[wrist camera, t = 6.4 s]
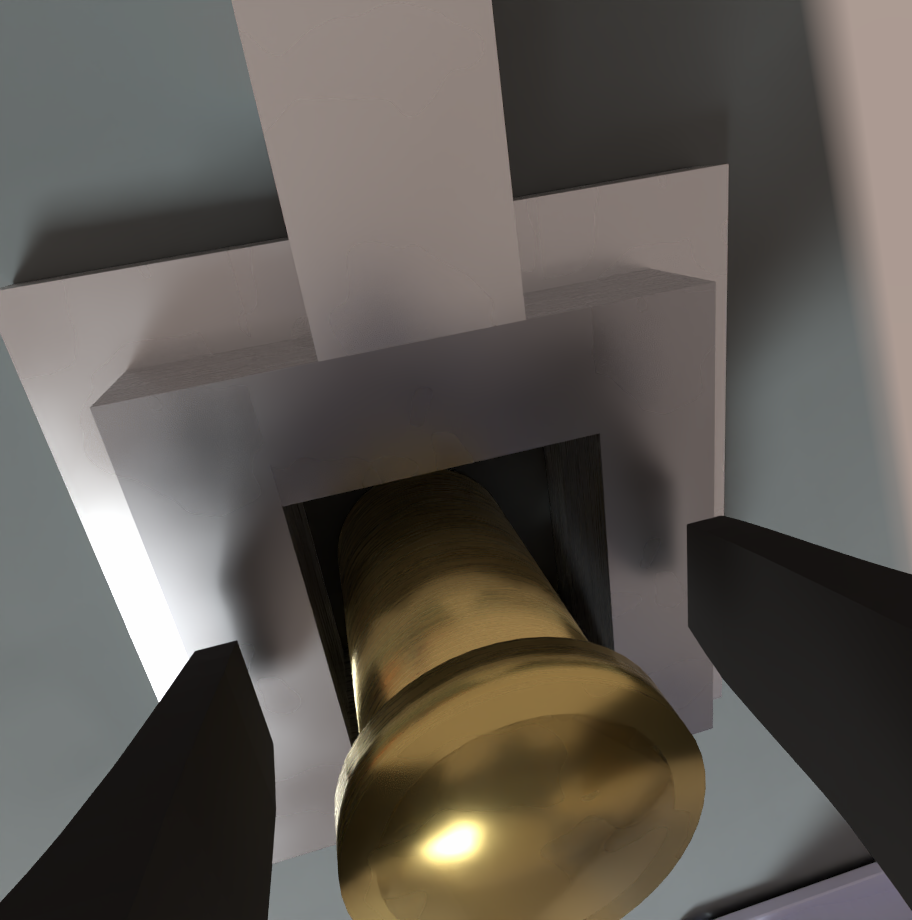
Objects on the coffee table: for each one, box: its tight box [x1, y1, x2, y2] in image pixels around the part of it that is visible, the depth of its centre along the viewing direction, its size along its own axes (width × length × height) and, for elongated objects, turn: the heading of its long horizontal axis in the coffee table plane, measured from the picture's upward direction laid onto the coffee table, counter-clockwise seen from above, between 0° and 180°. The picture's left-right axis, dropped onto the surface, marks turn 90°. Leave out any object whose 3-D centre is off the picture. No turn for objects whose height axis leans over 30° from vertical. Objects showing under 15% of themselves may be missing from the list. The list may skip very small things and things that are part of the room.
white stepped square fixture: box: [0, 0, 729, 864], centre depth 10 cm, size 12×24×3 cm, turn 9°
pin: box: [334, 469, 706, 920], centre depth 11 cm, size 4×4×7 cm
